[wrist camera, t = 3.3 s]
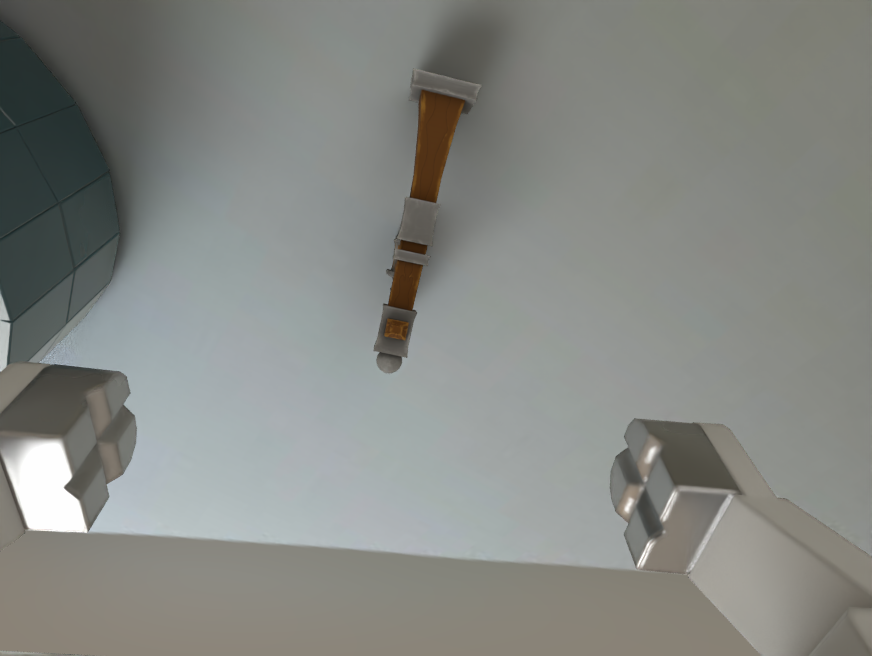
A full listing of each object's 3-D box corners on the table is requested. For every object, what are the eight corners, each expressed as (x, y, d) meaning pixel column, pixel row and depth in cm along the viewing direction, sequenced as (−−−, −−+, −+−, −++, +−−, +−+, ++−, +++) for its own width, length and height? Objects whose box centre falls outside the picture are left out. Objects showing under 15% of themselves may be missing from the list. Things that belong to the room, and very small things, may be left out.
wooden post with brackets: (359, 343, 20) (353, 373, 15) (405, 106, 19) (413, 65, 14) (411, 353, 20) (420, 385, 16) (459, 119, 19) (483, 83, 15)
